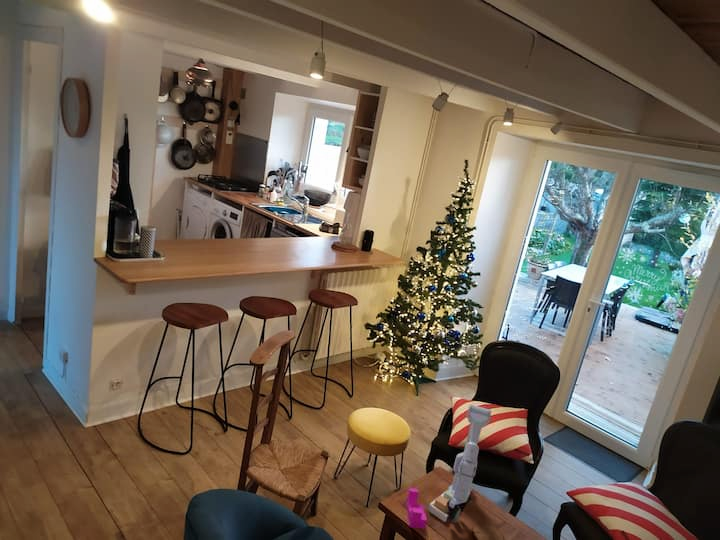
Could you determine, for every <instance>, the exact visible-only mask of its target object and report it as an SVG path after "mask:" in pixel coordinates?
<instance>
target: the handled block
mask: <svg viewBox="0 0 720 540" xmlns="http://www.w3.org/2000/svg"><path fill="white" fill-rule="evenodd" d="M436 498H437V499H436ZM436 498H435V499H434V500H435V503H434V506H435V507H436V508H438V509H439V510H441V511H442V512H444V513H445V514H447V515H448V516H447V518H449V511H448V506H447V502H448V501H449V500H448V499H446V498H444V497H443V496H440V495H439V496H437V497H436ZM460 510H461V509H459V511H458V512H457V514H456V516H455V518H454V520H452V519H450V521H451V522H452V523H454V524H456V523H458V520H459V518H460V513H461V511H460Z"/></svg>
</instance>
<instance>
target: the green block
mask: <svg viewBox="0 0 720 540" xmlns="http://www.w3.org/2000/svg"><path fill="white" fill-rule="evenodd" d="M444 492H445V491H444ZM444 492H443V493H444ZM451 492H452V491H451V490H450V489H448V488H447V490H446V492H445V493H444V496H443V497H444V498H446V499H448V500H450V501H451V499H452V496H453V494H452V493H451Z"/></svg>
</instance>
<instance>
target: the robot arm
mask: <svg viewBox="0 0 720 540" xmlns="http://www.w3.org/2000/svg"><path fill="white" fill-rule="evenodd" d="M468 405H469V406H468V408H467V413H466V419H467V421H468V422H469V424H470V427H469V430H468V435H467V438H466V443H465V446H464V450H463V452H460V453H458V454H456V457H455V461H454V463H453V472H454V476H453V480H452V484H451V485H450V486H448V487H447V490H448V489H450V490H451V491H452V492H451V493H452V494H453V496H452V499H451V501H450V500H449V501H448V502H447V506H448V510H449V511H448V514H449V517H448V518H449V519H450V520H451V519H452V520H454V518H455V516H456V514H457V512H458V511H459V509H461V510H460V513H462V512H463V511H464V510H465V509H466V507H467V506H468V503H469V502H470V501H471V500H472V497H471V492H472V491H473V489H472V488H471V487H472V484H473V480H474V477H475V476H476V471H477V466H478V457H479V456H478V455H479V452H480V447H479V446H478V442H479V438H480V435H481V431H482V428H485V427H486V426H487V425H488V424H489V423H490V421H491V415H492V409H488V408H486V407H482V406H478V405H475V404H471V403H470V404H468ZM457 504H458V505H457Z"/></svg>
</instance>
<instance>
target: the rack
mask: <svg viewBox="0 0 720 540" xmlns="http://www.w3.org/2000/svg"><path fill="white" fill-rule="evenodd" d="M446 491H447V490H446ZM446 491H444V492H442V494H440V495H439V496H444V493H445V492H446ZM437 498H438V497H436V498H435V499H437ZM435 499H434V500H433V501H431V502H430V503H428V507H427V512H429V513H431V514H432V515H434V516H436V517H437V518H438V519H440V520H442V521H443V522H445V523H446V522H447V520H448V515H447V514H448V513H447V514H445V513H444V512H442V511H441V510H439V509H438V508H436V507H435V506H434V503H435ZM457 506H458V504H457ZM448 512H449V510H448Z"/></svg>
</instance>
